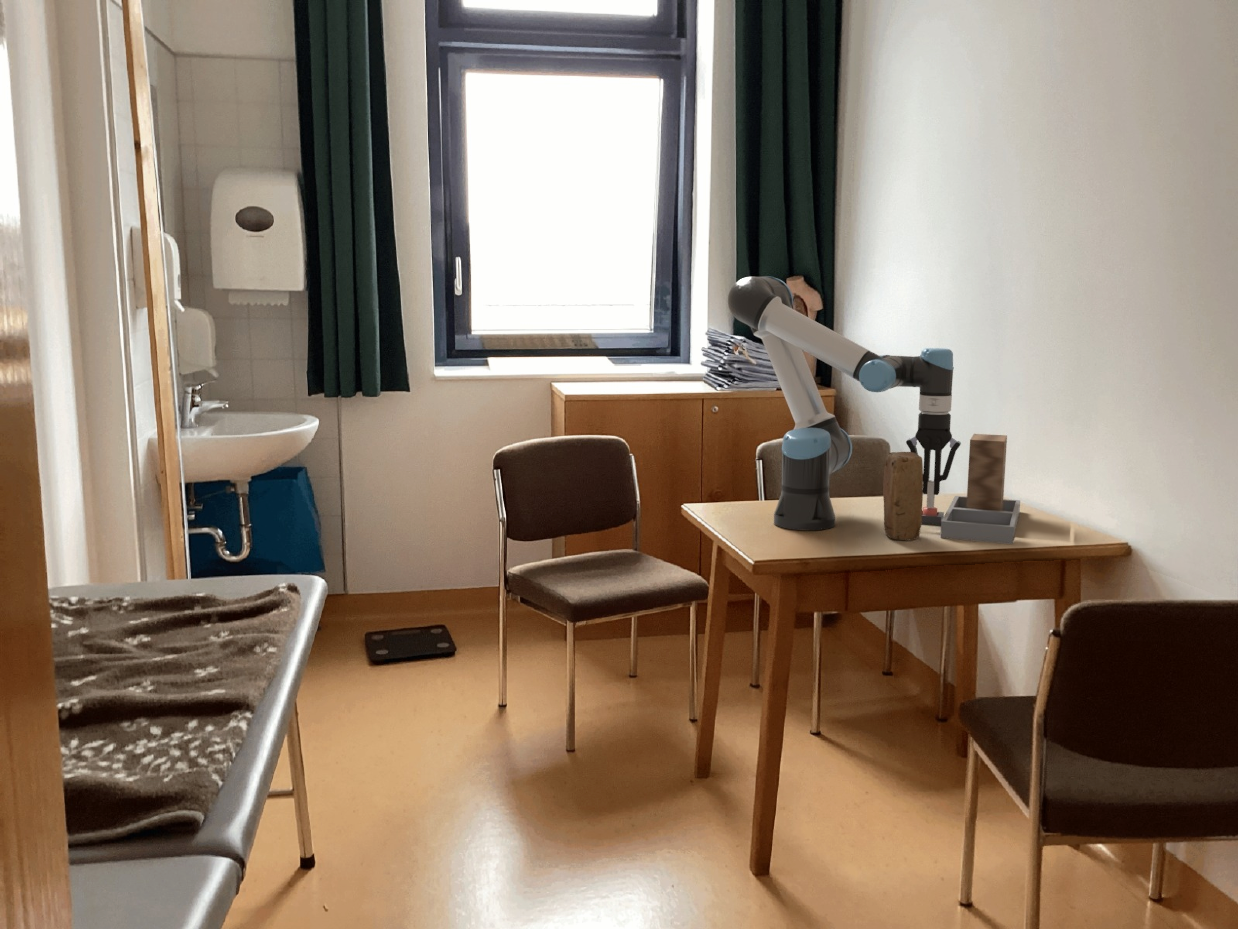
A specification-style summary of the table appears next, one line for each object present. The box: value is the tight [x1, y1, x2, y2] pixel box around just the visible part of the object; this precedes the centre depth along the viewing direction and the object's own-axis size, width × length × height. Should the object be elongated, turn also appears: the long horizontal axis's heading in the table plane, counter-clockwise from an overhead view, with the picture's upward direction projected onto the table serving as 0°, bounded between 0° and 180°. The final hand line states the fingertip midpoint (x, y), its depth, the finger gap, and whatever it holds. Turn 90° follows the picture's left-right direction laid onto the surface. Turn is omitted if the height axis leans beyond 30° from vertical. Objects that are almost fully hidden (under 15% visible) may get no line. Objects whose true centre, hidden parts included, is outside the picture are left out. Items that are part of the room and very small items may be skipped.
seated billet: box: [966, 433, 1008, 511], centre depth 264 cm, size 8×11×20 cm
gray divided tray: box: [940, 495, 1021, 545], centre depth 258 cm, size 16×32×4 cm, turn 157°
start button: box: [922, 506, 938, 516], centre depth 259 cm, size 3×3×4 cm
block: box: [882, 451, 924, 541], centre depth 247 cm, size 11×8×20 cm
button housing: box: [921, 510, 945, 526], centre depth 259 cm, size 6×6×3 cm
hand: (930, 507), depth 258 cm, fingers closed
